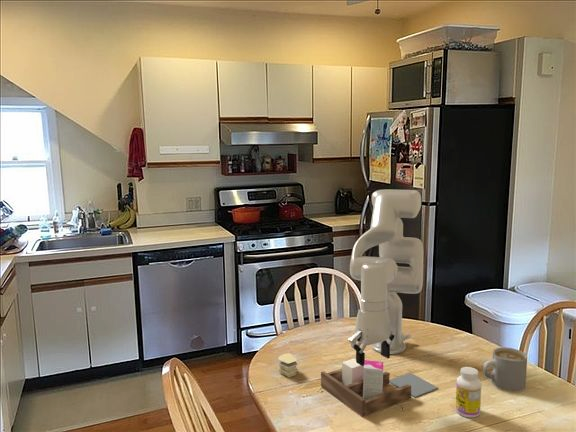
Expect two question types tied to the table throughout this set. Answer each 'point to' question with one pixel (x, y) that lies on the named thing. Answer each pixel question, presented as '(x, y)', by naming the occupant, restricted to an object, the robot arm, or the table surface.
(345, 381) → the off-white block
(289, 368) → the beige ridged block
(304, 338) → the table surface
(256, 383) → the table surface
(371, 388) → the supplement box
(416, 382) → the mat
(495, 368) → the coffee mug
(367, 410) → the lane rack
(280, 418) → the table surface
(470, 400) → the supplement bottle
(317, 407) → the table surface
